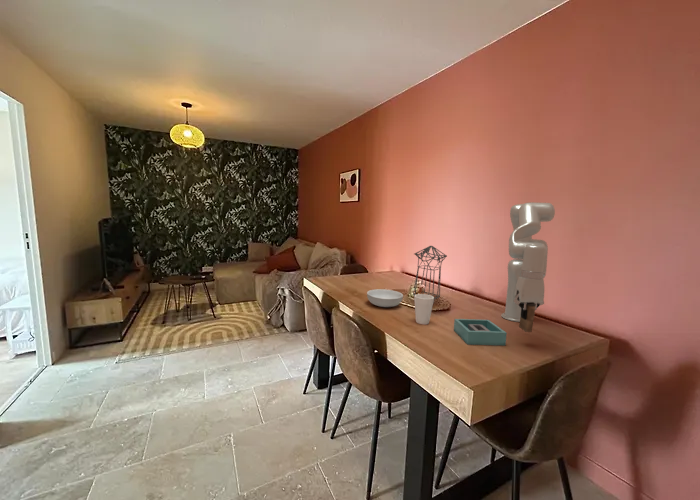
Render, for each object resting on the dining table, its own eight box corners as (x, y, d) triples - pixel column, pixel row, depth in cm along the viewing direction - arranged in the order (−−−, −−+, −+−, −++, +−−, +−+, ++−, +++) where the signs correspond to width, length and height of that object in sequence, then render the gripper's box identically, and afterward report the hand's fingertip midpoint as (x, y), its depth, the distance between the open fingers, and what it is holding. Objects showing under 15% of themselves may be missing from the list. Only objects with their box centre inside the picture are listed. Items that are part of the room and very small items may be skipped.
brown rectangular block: (524, 326, 134) (528, 299, 132) (531, 332, 129) (535, 304, 127) (519, 326, 134) (522, 299, 131) (525, 331, 129) (530, 304, 126)
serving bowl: (362, 307, 176) (363, 295, 175) (370, 298, 196) (371, 287, 195) (399, 312, 170) (400, 300, 169) (404, 302, 190) (405, 291, 189)
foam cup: (410, 323, 154) (411, 297, 152) (415, 317, 162) (417, 293, 160) (429, 326, 149) (431, 300, 148) (434, 321, 157) (436, 296, 156)
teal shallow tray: (487, 331, 147) (488, 319, 146) (505, 345, 131) (506, 332, 130) (453, 330, 146) (454, 318, 145) (467, 344, 130) (468, 331, 129)
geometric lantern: (419, 297, 202) (425, 243, 198) (443, 303, 192) (449, 246, 188) (407, 302, 190) (413, 244, 185) (432, 308, 180) (438, 247, 176)
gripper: (545, 273, 132) (540, 315, 134) (507, 272, 131) (503, 315, 134) (557, 277, 124) (551, 322, 127) (517, 276, 124) (513, 321, 126)
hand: (527, 318), depth 130 cm, fingers closed on brown rectangular block, 2 cm apart
